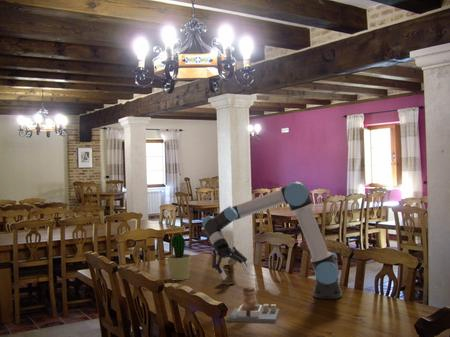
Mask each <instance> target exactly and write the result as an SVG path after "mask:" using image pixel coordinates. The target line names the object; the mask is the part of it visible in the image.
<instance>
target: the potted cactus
mask: <svg viewBox="0 0 450 337" xmlns="http://www.w3.org/2000/svg"><path fill="white" fill-rule="evenodd" d="M170 244H171V245H170V246H171V248H172V249H173V252H174V253H173V254H170V255H167V256H166V258H167V264H168V268H169V273H170V274H169V275H170V279H171V278H172V279H176V280H182V281H184V280H183V279H187V278H189V277H190V270H191V269H190V268H191V257H192V255H191V254H189V253H185V249H186V248H187V247H186V240H185V237H184V236H183V235H182V233H181V232H180V233H175V234H173V236H172V239H171V241H170ZM172 279H171V280H172ZM187 280H188V279H187Z"/></svg>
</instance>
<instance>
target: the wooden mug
mask: <svg viewBox="0 0 450 337" xmlns="http://www.w3.org/2000/svg"><path fill="white" fill-rule="evenodd" d="M236 264H237V261H236V260H234V259H232V258H229V259H228V261H227V264H223V265H222V268H223V270H224V272H225V274H226V276H227V277H226V279H225V280H223V278H222V277H221V283H222V284H226V285H225V286H231V285H230V284H234V285H236V284H237V279H236V275H235V268H234V266H235V265H236ZM221 283H220V284H221ZM235 283H236V284H235ZM222 284H221V285H222Z"/></svg>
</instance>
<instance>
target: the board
mask: <svg viewBox="0 0 450 337" xmlns="http://www.w3.org/2000/svg"><path fill="white" fill-rule="evenodd" d="M255 305H256V310H257V311H250V315H247V314H246V311H243V310H244V304H240V306H239V307H234V308H233V310H232V311H231V313H230V315H229V316H228V319H227V320H229V321H228V322H235V321H242V322H243V321H244V323H245V322H246V323H248V322H249V323H275V324H276V323H277V320H278V316H279V313H280V308H277V304H275V303H274V304H273V303H272V304H269V303H263V304H255ZM269 305H270V306H269ZM242 322H241V323H242Z"/></svg>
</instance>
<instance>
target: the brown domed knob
mask: <svg viewBox="0 0 450 337" xmlns="http://www.w3.org/2000/svg"><path fill="white" fill-rule="evenodd" d="M242 297H243V305H244V310H243V311H246V314H247V315H250V311H257V310H256V305H257V304H256V289H255V286H245V287H243V288H242Z"/></svg>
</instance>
